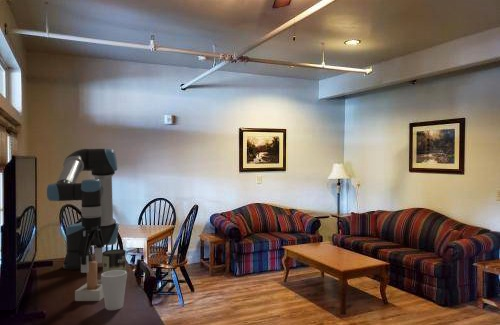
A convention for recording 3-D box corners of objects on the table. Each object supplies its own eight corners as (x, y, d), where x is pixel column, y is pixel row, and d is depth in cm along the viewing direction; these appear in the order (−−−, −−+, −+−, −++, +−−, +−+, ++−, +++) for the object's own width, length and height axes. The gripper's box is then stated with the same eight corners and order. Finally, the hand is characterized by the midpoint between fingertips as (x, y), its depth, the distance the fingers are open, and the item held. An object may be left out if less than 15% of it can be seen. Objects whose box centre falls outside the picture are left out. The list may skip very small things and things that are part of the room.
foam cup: (101, 313, 140) (101, 278, 140) (100, 305, 149) (100, 271, 149) (128, 309, 144) (128, 274, 144) (126, 301, 153) (125, 268, 153)
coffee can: (130, 278, 184) (129, 249, 184) (118, 285, 173) (118, 254, 174) (110, 277, 186) (110, 248, 186) (98, 284, 176) (98, 253, 176)
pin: (89, 294, 160) (89, 260, 160) (98, 294, 160) (98, 260, 160) (85, 297, 156) (85, 263, 156) (94, 297, 156) (94, 263, 156)
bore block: (91, 288, 170) (91, 279, 170) (114, 288, 170) (114, 279, 170) (75, 301, 154) (74, 291, 154) (99, 300, 154) (99, 290, 154)
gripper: (94, 212, 171) (95, 259, 171) (67, 221, 146) (68, 276, 146) (111, 212, 171) (112, 259, 171) (87, 221, 146) (87, 276, 146)
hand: (91, 267), depth 159 cm, fingers open, 13 cm apart
